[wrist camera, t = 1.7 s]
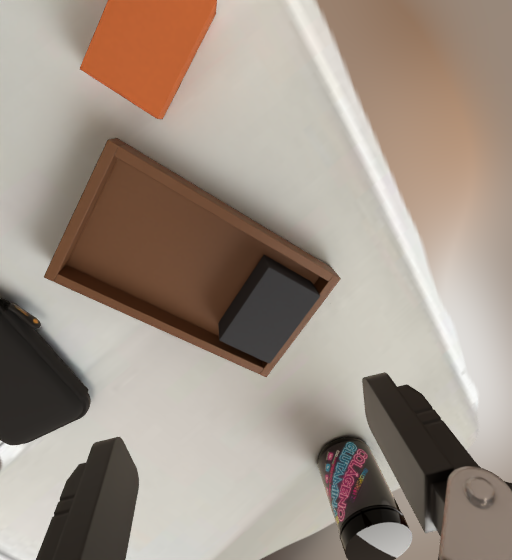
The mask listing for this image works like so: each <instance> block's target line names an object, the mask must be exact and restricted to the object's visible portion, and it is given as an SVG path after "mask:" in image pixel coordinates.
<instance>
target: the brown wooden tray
mask: <svg viewBox="0 0 512 560" xmlns="http://www.w3.org/2000/svg"><path fill="white" fill-rule="evenodd" d="M263 255H266V256H268V257H269V258H271V259H273V260H274V261H276V262H278V263H280V264H281V265H283V266H285V267H287V268H288V269H290V270H292V271H294V272H295V273H297V274H299V275H301V276H302V277H304V278H306V279H308V280H309V281H311V282H312V283H313V285H314V286H315V288H316V290H317V291H318V293H319V294H320V297H319V299H318V300H317V301H316V303H315V304H314V305H313V307H312V308H311V309H310V311H309V312H308V313H307V315H306V316H305V317H304V319H303V320H302V321H301V323H300V324H299V325H298V327H297V328H296V329H295V331H294V332H293V333H292V335H291V336H290V337H289V339H288V340H287V341H286V343H285V344H284V345H283V347H282V348H281V349H280V351H279V352H278V353H277V355H276V356H275V357H274V359H273V360H272V361H271V363H270V364H269V363H267V362H265V361H262V360H260V359H258V358H256V357H254V356H252V355H250V354H247V353H245V352H243V351H241V350H239V349H237V348H234V347H232V346H230V345H228V344H226V343H224V342H222V341H220V340H219V327H218V323H219V321H220V320H221V318H222V317H223V315H224V314H225V312H226V311H227V309H228V308H229V306H230V305H231V303H232V302H233V300H234V299H235V297H236V296H237V294H238V293H239V291H240V290H241V288H242V287H243V285H244V284H245V282H246V281H247V279H248V278H249V276H250V275H251V273H252V272H253V270H254V269H255V267H256V266H257V264H258V263H259V261H260V260H261V258H262V257H263ZM44 277H45V278H47V279H49V280H51V281H54V282H56V283H58V284H60V285H62V286H65V287H67V288H69V289H71V290H73V291H76V292H78V293H80V294H82V295H85V296H87V297H89V298H91V299H93V300H96V301H98V302H100V303H102V304H105V305H107V306H109V307H111V308H113V309H116V310H118V311H120V312H122V313H125V314H127V315H129V316H131V317H134V318H136V319H138V320H140V321H142V322H145V323H147V324H149V325H151V326H154V327H156V328H158V329H160V330H162V331H165V332H167V333H169V334H171V335H174V336H176V337H178V338H180V339H182V340H185V341H187V342H189V343H191V344H194V345H196V346H198V347H200V348H202V349H205V350H207V351H209V352H211V353H214V354H216V355H218V356H220V357H222V358H225V359H227V360H229V361H231V362H234V363H236V364H238V365H240V366H242V367H245V368H247V369H249V370H251V371H254V372H256V373H258V374H260V375H262V376H265V377H267V376H268V374H269V373H270V372H271V370H272V369H273V368H274V366H275V365H276V364H277V362H278V361H279V360H280V358H281V357H282V356H283V354H284V353H285V352H286V350H287V349H288V348H289V346H290V345H291V344H292V342H293V341H294V340H295V338H296V337H297V336H298V334H299V333H300V332H301V330H302V329H303V328H304V327H305V325H306V324H307V323H308V321H309V320H310V319H311V317H312V316H313V315H314V313H315V312H316V311H317V309H318V308H319V307H320V305H321V304H322V303H323V301H324V300H325V299H326V297H327V296H328V295H329V293H330V292H331V291H332V289H333V288H334V287H335V285H336V284H337V283H338V281H339V280H340V279H341V278H340V277H339V276H338V275H337V273H336V272H335V271H334V270H333V269H332V268H331V267H330V266H328V265H326V264H325V263H323V262H322V261H320V260H318V259H317V258H315V257H313V256H312V255H310V254H308V253H307V252H305V251H303V250H302V249H300V248H298V247H297V246H295V245H293V244H292V243H290V242H288V241H287V240H285V239H283V238H282V237H280V236H278V235H277V234H275V233H273V232H272V231H270V230H268V229H267V228H265V227H263V226H262V225H260V224H259V223H257V222H255V221H254V220H252V219H250V218H249V217H247V216H245V215H244V214H242V213H240V212H239V211H237V210H235V209H234V208H232V207H230V206H229V205H227V204H225V203H224V202H222V201H220V200H219V199H217V198H215V197H214V196H212V195H210V194H209V193H207V192H205V191H204V190H202V189H200V188H199V187H197V186H196V185H194V184H192V183H191V182H189V181H187V180H186V179H184V178H182V177H181V176H179V175H177V174H176V173H174V172H172V171H171V170H169V169H167V168H166V167H164V166H162V165H161V164H159V163H157V162H156V161H154V160H152V159H151V158H149V157H147V156H146V155H144V154H142V153H141V152H139V151H138V150H136V149H134V148H133V147H131V146H129V145H128V144H126V143H124V142H123V141H121V140H119V139H118V138H114V139H109V140H108V141H107V143H106V145H105V147H104V149H103V151H102V153H101V156H100V158H99V160H98V162H97V164H96V166H95V168H94V171H93V173H92V175H91V177H90V179H89V181H88V183H87V185H86V188H85V190H84V192H83V194H82V196H81V198H80V200H79V203H78V205H77V207H76V209H75V211H74V213H73V215H72V218H71V220H70V222H69V224H68V226H67V228H66V230H65V233H64V235H63V237H62V239H61V241H60V243H59V245H58V248H57V250H56V252H55V254H54V256H53V258H52V260H51V263H50V265H49V267H48V269H47V271H46V273H45V275H44Z"/></svg>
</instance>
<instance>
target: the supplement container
mask: <svg viewBox="0 0 512 560" xmlns="http://www.w3.org/2000/svg"><path fill="white" fill-rule="evenodd" d="M318 468H319V471H320V474H321V477H322V480H323V484H324V487H325V490H326V493H327V496H328V499H329V503H330V506H331V509H332V512H333V515H334V518H335V522H336V525H337V528H338V531H339V534H340V539H341V542H342V545H343V548H344V551H345V554H346V557H347V558H348V560H394V559H396V558H397V557H399V556H400V555H402V554H403V553H404V552H405V551H406V550H407V549H408V547H409V546H410V544H411V541H412V533H411V531H410V529H409V527H408V525H407V523H406V520H405V518H404V516H403V514H402V513H401V511H400V509H399V507H398V505H397V503H396V501H395V499H394V497H393V495H392V493H391V491H390V489H389V487H388V484H387V482H386V480H385V478H384V476H383V474H382V472H381V470H380V468H379V466H378V464H377V462H376V460H375V458H374V456H373V454H372V452H371V450H370V448H369V446H368V445H367V444H366V443H364V442H363V441H361V440H359V439H356V438H351V437H345V438H340V439H337V440H334V441H332V442H331V443H329V444H328V445H327V446H325V448H324V449H323V450H322V451H321V453H320V455H319V459H318Z"/></svg>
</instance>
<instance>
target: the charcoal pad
mask: <svg viewBox="0 0 512 560" xmlns="http://www.w3.org/2000/svg"><path fill="white" fill-rule="evenodd" d="M319 297H320V294H319V293H318V291H317V290H316V288H315V286H314V285H313V283H312V282H311V281H309V280H308V279H306V278H304V277H302V276H301V275H299V274H297V273H295V272H294V271H292V270H290V269H288V268H287V267H285V266H283V265H281V264H280V263H278V262H276V261H274V260H273V259H271V258H269V257H268V256H266V255H263V257H262V258H261V260H260V261H259V263H258V264H257V266H256V267H255V269H254V270H253V272H252V273H251V275H250V276H249V278H248V279H247V281H246V282H245V284H244V285H243V287H242V288H241V290H240V291H239V293H238V294H237V296H236V297H235V299H234V300H233V302H232V303H231V305H230V306H229V308H228V309H227V311H226V312H225V314H224V315H223V317H222V318H221V320H220V321H219V323H218V327H219V340H220V341H222V342H224V343H226V344H228V345H230V346H232V347H234V348H237V349H239V350H241V351H243V352H245V353H247V354H250V355H252V356H254V357H256V358H258V359H260V360H262V361H265V362H267V363H269V364H270V363H271V361H272V360H273V359H274V357H275V356H276V355H277V353H278V352H279V351H280V349H281V348H282V347H283V345H284V344H285V343H286V341H287V340H288V339H289V337H290V336H291V335H292V333H293V332H294V331H295V329H296V328H297V327H298V325H299V324H300V323H301V321H302V320H303V319H304V317H305V316H306V315H307V313H308V312H309V311H310V309H311V308H312V307H313V305H314V304H315V303H316V301H317V300H318V299H319Z"/></svg>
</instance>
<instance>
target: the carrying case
mask: <svg viewBox="0 0 512 560" xmlns="http://www.w3.org/2000/svg"><path fill="white" fill-rule="evenodd" d="M40 326H41V323H40V321H39V320H38V319H37V318H35V317H34V316H32V315H31V314H29V313H28V312H26V311H25V310H23V309H22V308H20V307H19V306H18V305H17V304H15V303H10V302H9V301H7V300H5V299H2V298H1V299H0V440H1V441H3V442H4V443H6V444H9V445H20V444H24V443H28V442H31V441H33V440H35V439H37V438H39V437H41V436H43V435H46V434H48V433H50V432H52V431H54V430H56V429H58V428H60V427H63V426H65V425H67V424H69V423H71V422H73V421H75V420H78V419H80V418H81V417H83V416H84V415H85V414H86V413H87V411H88V409H89V407H90V396H89V394H88V388H86V387H85V386H84V385H83V384H82V383H81V381H80V380H79V379H78V378H77V377H76V376H75V375H74V373H73V372H72V371H71V370H70V369H69V368H68V367H67V366H66V364H65V363H64V362H63V361H62V360H61V359H60V358H59V357H58V355H57V354H56V353H55V352H54V351H53V350H52V349H51V347H50V346H49V345H48V344H47V343H46V342H45V341H44V340H43V338H42V337H41V336H40V335H39V334H38V333H37V332H36V330H35V329H38V328H40ZM34 328H35V329H34Z"/></svg>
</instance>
